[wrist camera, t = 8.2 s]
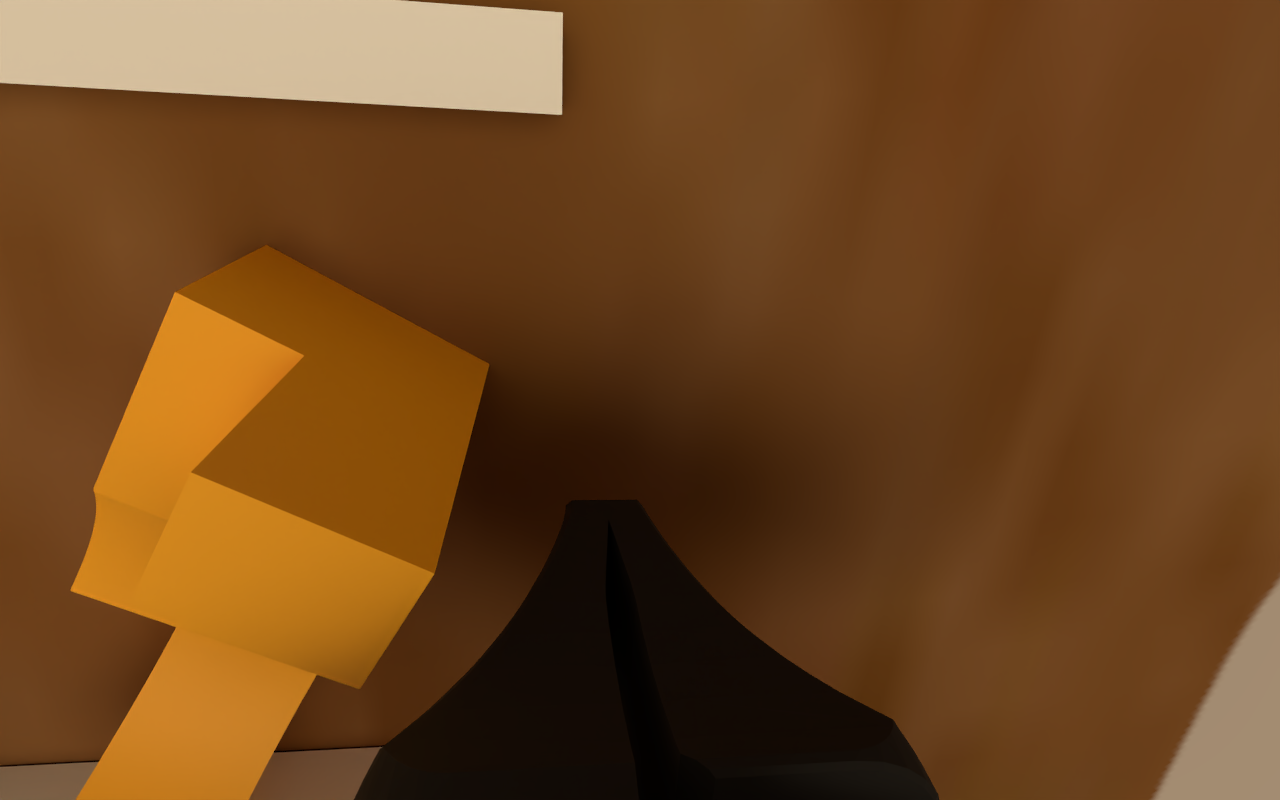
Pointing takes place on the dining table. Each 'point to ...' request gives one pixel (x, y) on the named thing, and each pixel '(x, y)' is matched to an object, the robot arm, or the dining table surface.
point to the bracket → (283, 69)
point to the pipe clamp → (269, 512)
